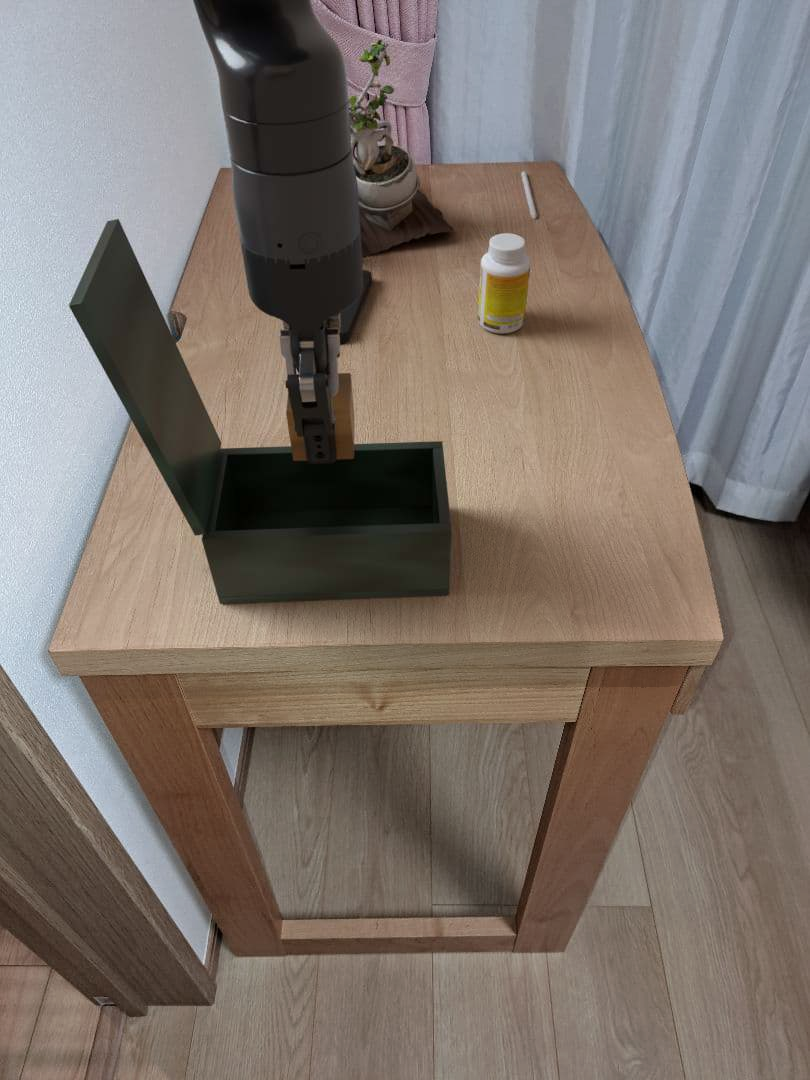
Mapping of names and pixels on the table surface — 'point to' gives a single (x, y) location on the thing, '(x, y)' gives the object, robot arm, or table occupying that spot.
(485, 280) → the supplement bottle
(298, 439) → the block
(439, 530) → the chest
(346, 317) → the remote control
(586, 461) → the table surface
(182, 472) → the lid
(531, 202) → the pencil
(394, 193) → the potted plant
